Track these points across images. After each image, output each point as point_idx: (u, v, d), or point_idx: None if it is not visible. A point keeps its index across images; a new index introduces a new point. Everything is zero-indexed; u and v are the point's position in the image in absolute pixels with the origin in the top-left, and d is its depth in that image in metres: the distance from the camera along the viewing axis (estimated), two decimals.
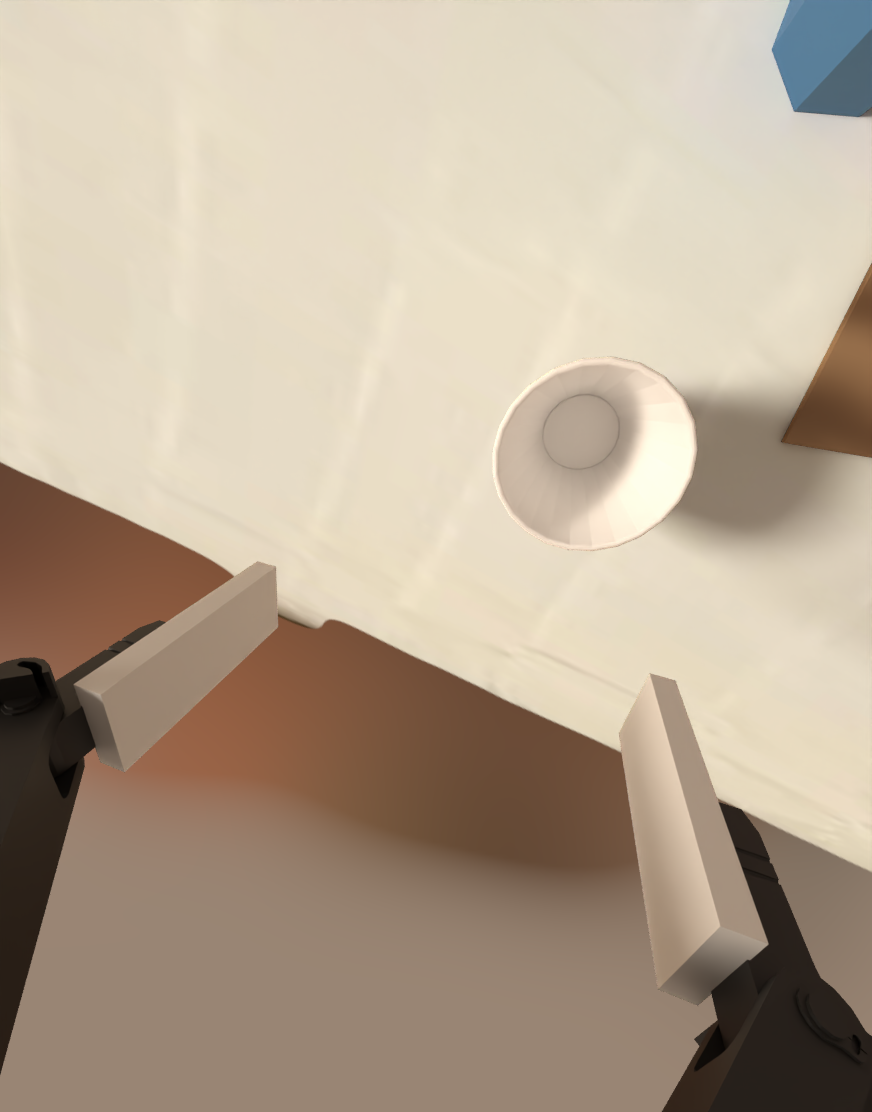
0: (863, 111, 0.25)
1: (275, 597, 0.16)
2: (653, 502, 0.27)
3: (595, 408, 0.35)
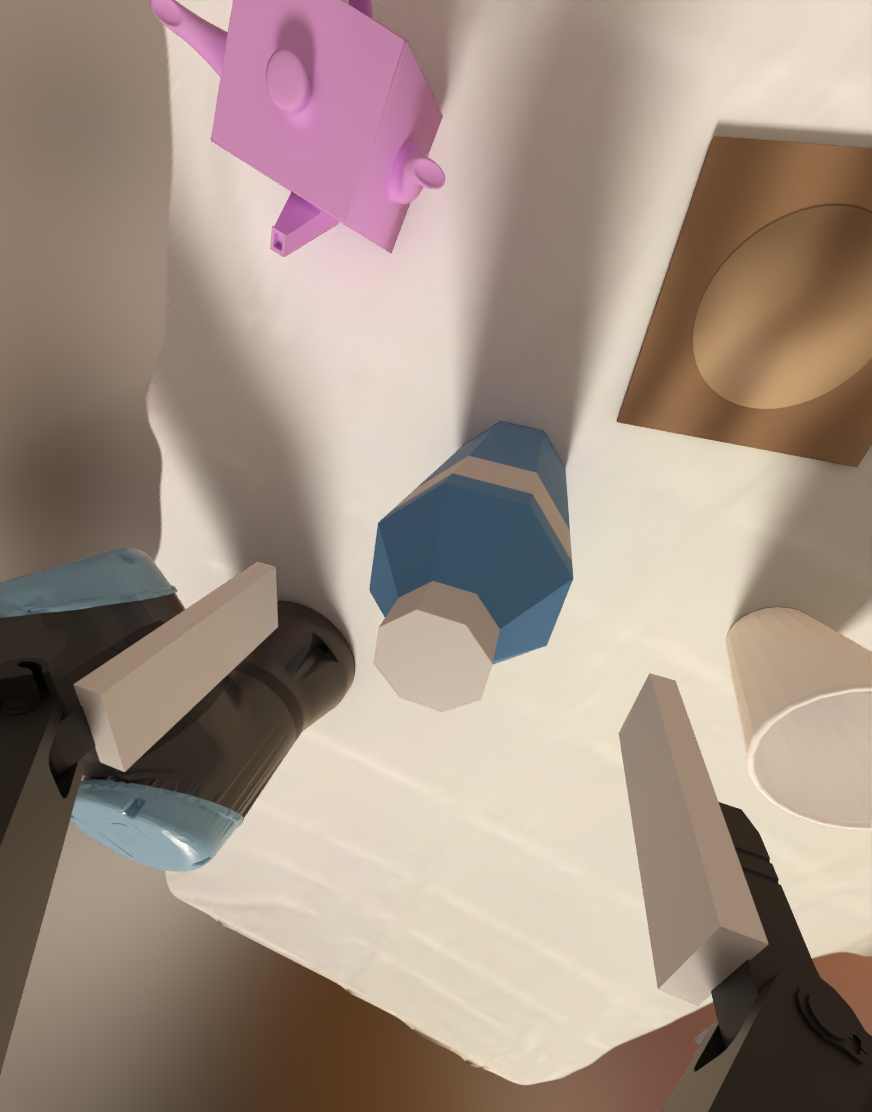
0: (565, 472, 0.34)
1: (275, 597, 0.16)
2: None
3: None
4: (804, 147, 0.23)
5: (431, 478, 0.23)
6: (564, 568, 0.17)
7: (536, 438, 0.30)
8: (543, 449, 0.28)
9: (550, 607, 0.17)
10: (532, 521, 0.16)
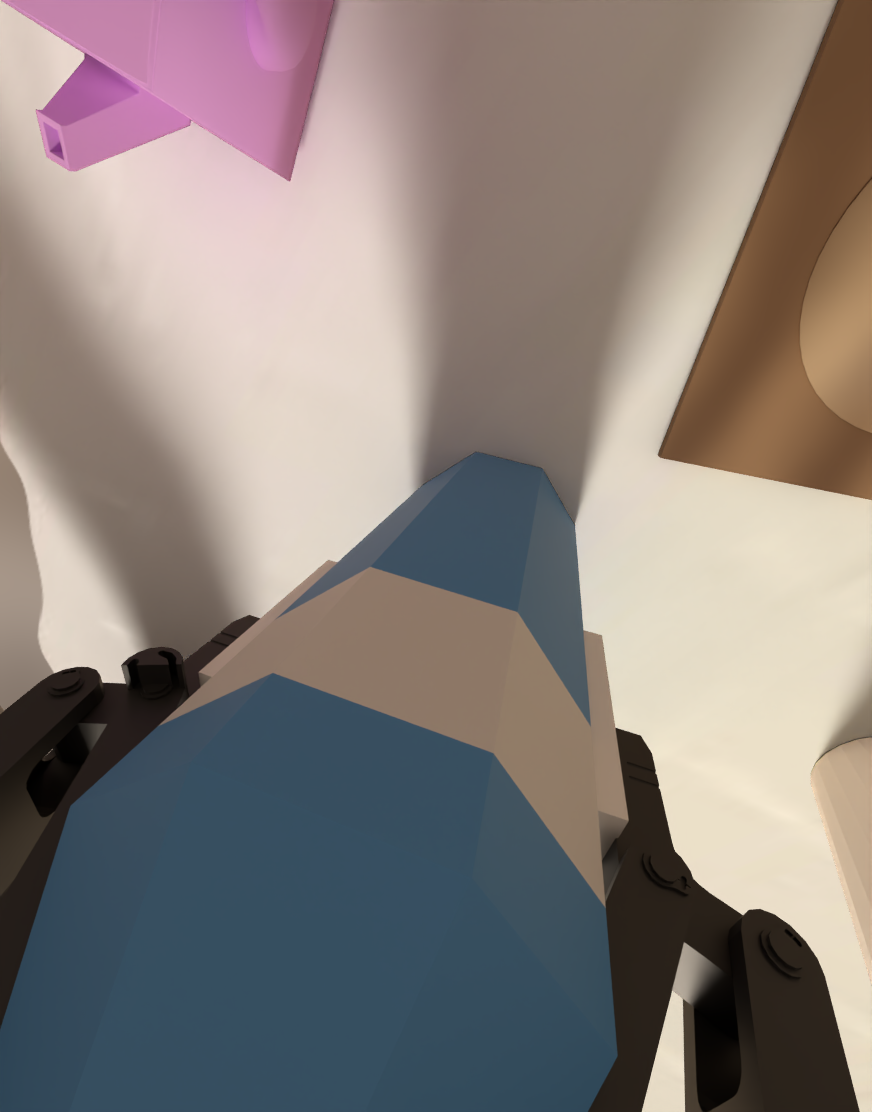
0: (574, 530, 0.22)
1: None
2: None
3: None
4: None
5: (306, 599, 0.11)
6: (589, 1042, 0.05)
7: (528, 487, 0.18)
8: (539, 513, 0.16)
9: None
10: (477, 938, 0.04)
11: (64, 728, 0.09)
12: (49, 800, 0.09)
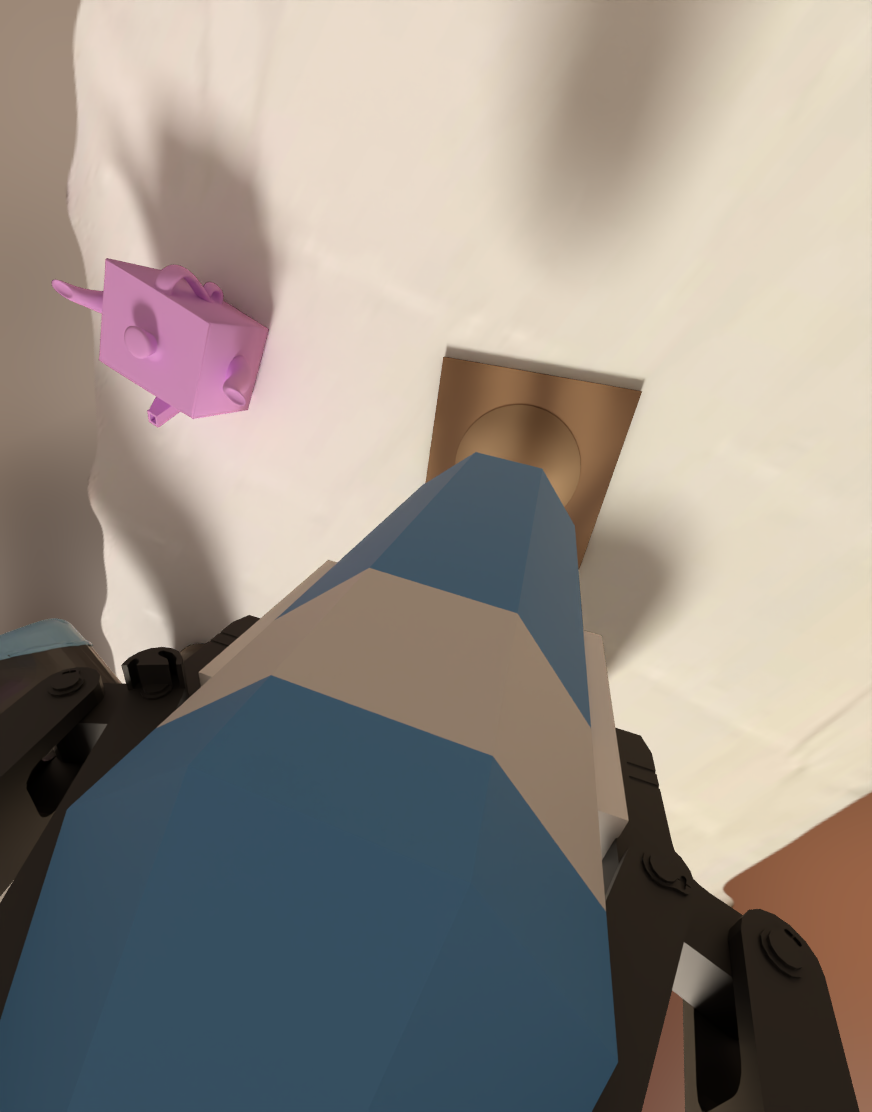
0: (574, 531, 0.22)
1: None
2: None
3: None
4: (498, 368, 0.34)
5: (305, 600, 0.11)
6: (590, 1049, 0.05)
7: (528, 488, 0.18)
8: (539, 514, 0.16)
9: None
10: (477, 945, 0.04)
11: (64, 728, 0.09)
12: (49, 800, 0.09)
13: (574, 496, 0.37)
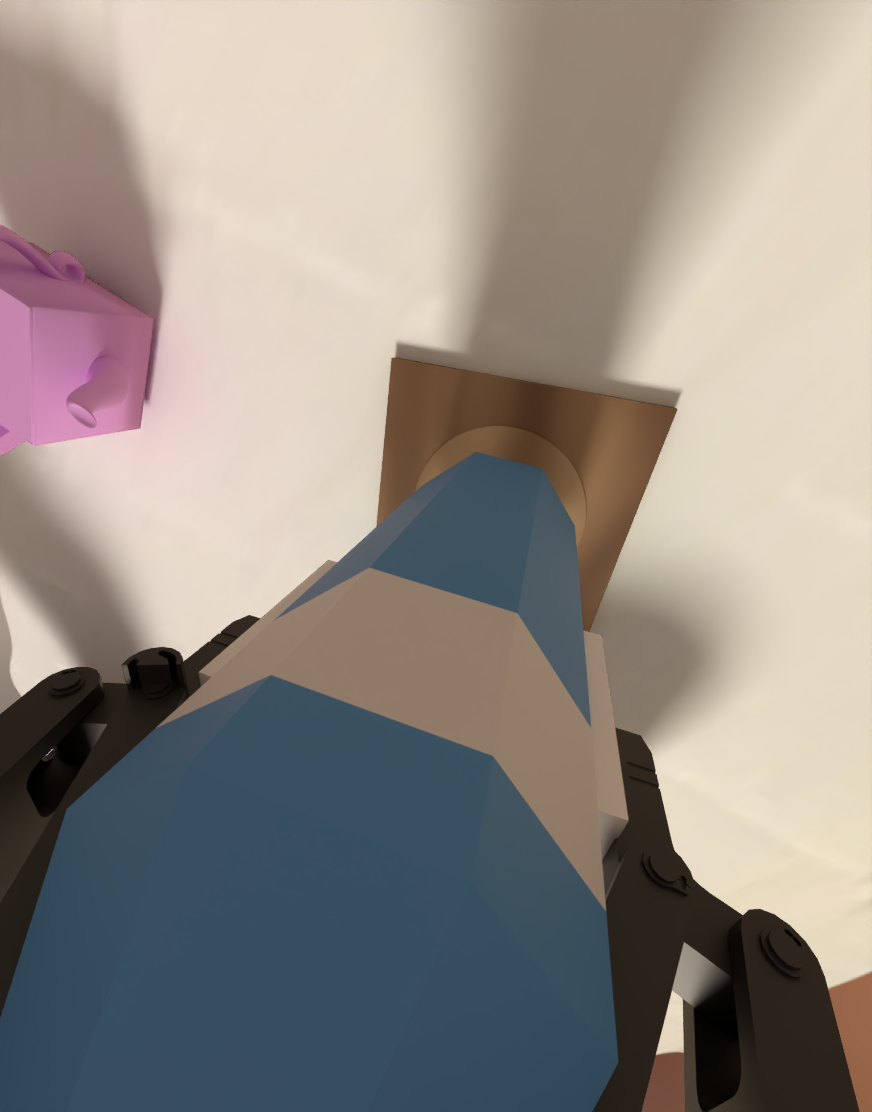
0: (574, 531, 0.22)
1: None
2: None
3: None
4: (469, 375, 0.24)
5: (305, 600, 0.11)
6: (590, 1049, 0.05)
7: (528, 488, 0.18)
8: (539, 514, 0.16)
9: None
10: (478, 945, 0.04)
11: (64, 728, 0.09)
12: (49, 800, 0.09)
13: (577, 551, 0.26)
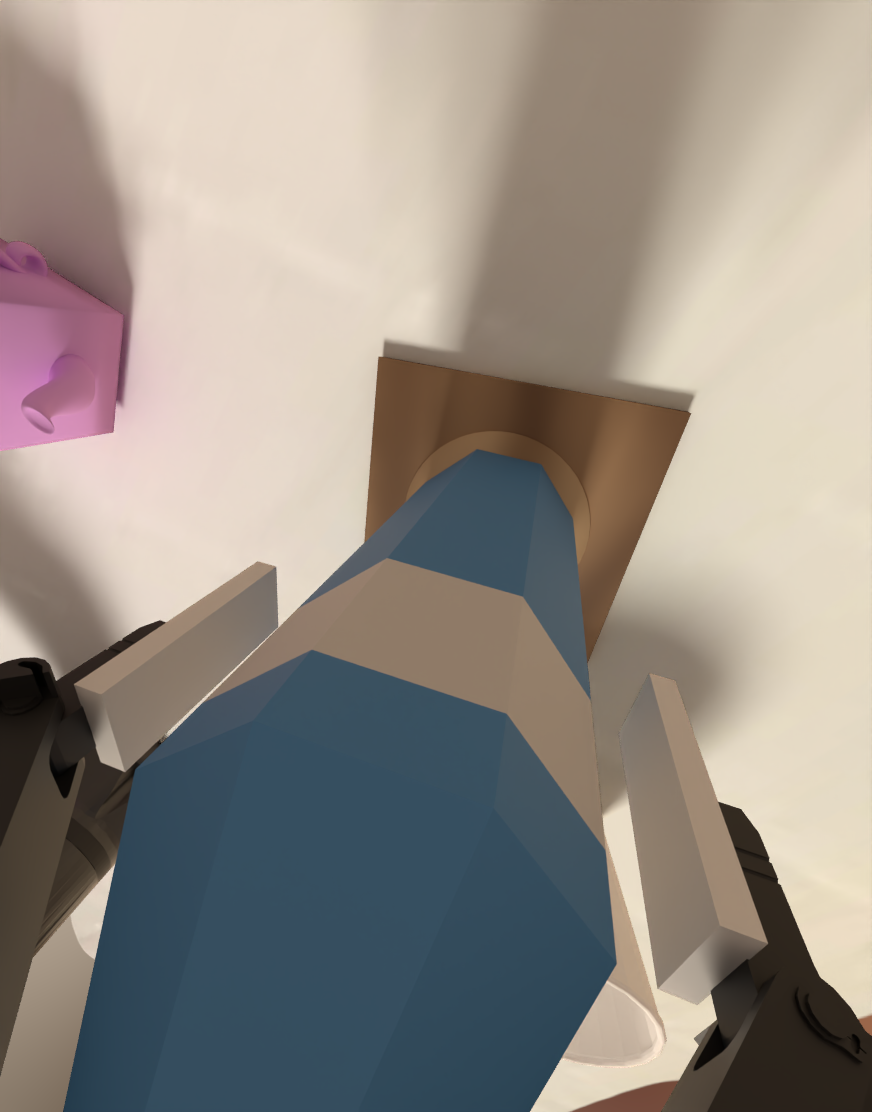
0: (572, 523, 0.23)
1: (276, 597, 0.16)
2: None
3: None
4: (463, 375, 0.22)
5: (326, 589, 0.12)
6: (592, 950, 0.06)
7: (528, 483, 0.19)
8: (539, 507, 0.17)
9: None
10: (500, 857, 0.05)
11: None
12: None
13: (580, 566, 0.24)
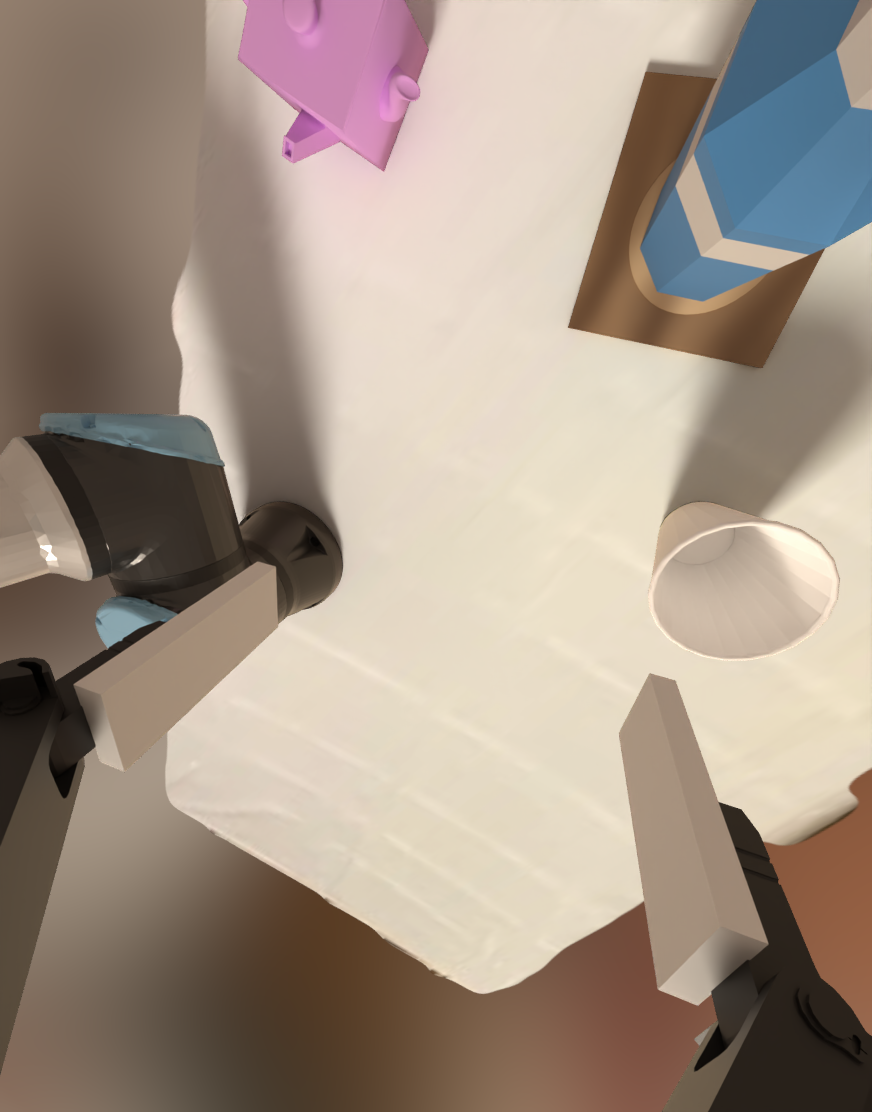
0: None
1: (275, 597, 0.15)
2: (795, 537, 0.30)
3: None
4: None
5: None
6: None
7: None
8: None
9: None
10: None
11: None
12: None
13: None
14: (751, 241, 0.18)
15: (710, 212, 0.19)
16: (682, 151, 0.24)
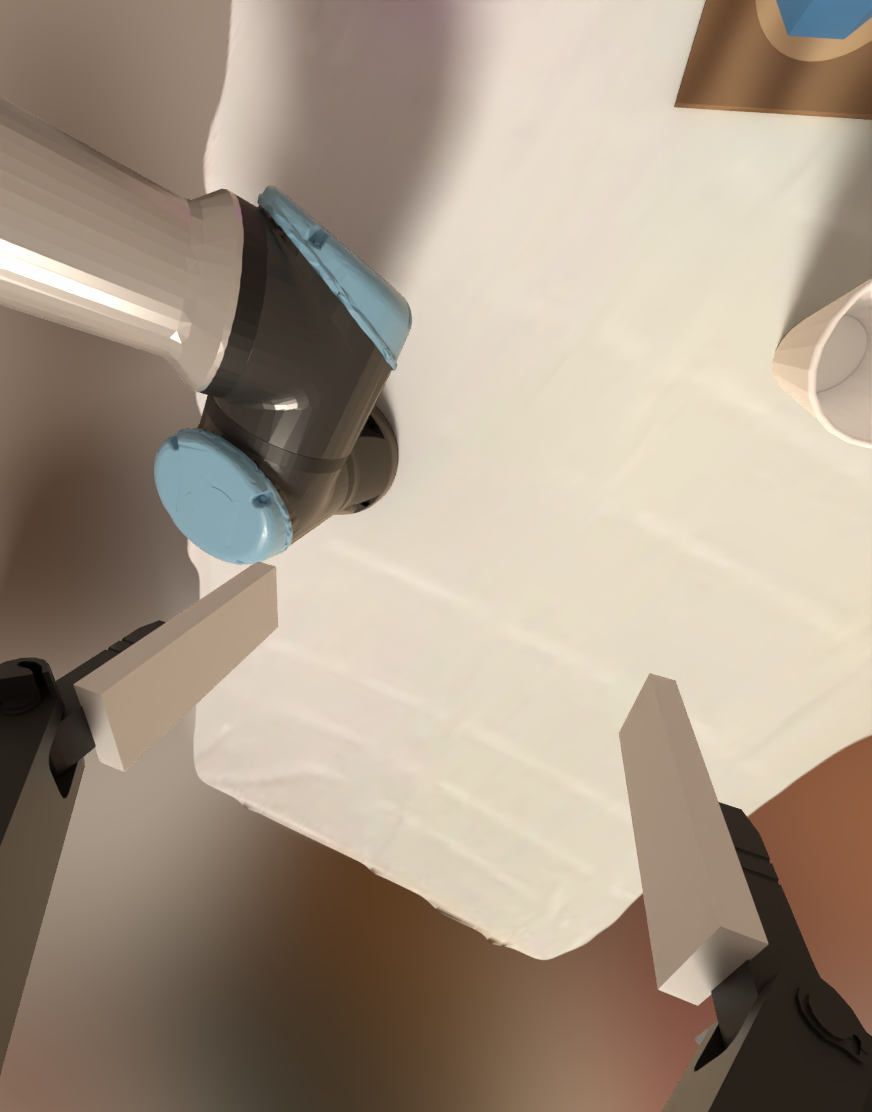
0: None
1: (276, 597, 0.16)
2: None
3: None
4: None
5: None
6: None
7: None
8: None
9: None
10: None
11: None
12: None
13: None
14: None
15: None
16: None
